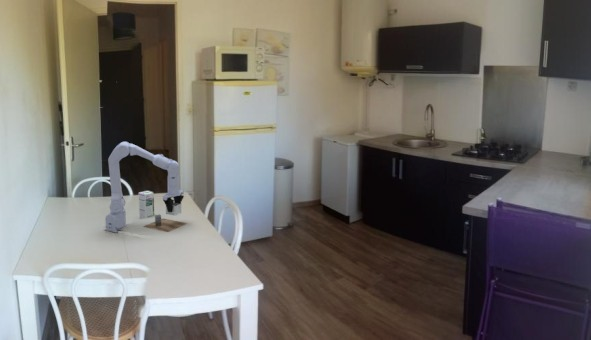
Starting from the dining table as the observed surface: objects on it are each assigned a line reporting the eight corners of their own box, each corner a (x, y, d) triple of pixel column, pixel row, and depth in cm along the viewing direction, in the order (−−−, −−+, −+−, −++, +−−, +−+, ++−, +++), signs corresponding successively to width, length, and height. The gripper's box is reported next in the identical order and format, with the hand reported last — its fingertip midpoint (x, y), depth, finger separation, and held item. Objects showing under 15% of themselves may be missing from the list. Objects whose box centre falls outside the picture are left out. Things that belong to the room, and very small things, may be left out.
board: (168, 234, 238) (167, 231, 238) (142, 229, 244) (142, 226, 244) (187, 226, 253) (187, 223, 252) (163, 221, 259) (163, 218, 259)
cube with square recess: (174, 215, 245) (174, 206, 244) (165, 213, 247) (165, 204, 246) (181, 212, 250) (181, 203, 249) (172, 211, 252) (172, 202, 251)
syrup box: (145, 220, 259) (145, 194, 256) (139, 217, 263) (138, 192, 260) (154, 217, 264) (154, 192, 261) (147, 215, 267) (147, 190, 264)
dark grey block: (161, 225, 247) (161, 216, 246) (155, 226, 246) (155, 216, 245) (160, 223, 249) (160, 214, 248) (155, 224, 248) (154, 215, 247)
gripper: (170, 188, 237) (170, 215, 240) (188, 183, 250) (188, 208, 253) (159, 186, 240) (159, 213, 243) (177, 181, 253) (177, 206, 256)
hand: (173, 210), depth 248 cm, fingers closed on cube with square recess, 5 cm apart
